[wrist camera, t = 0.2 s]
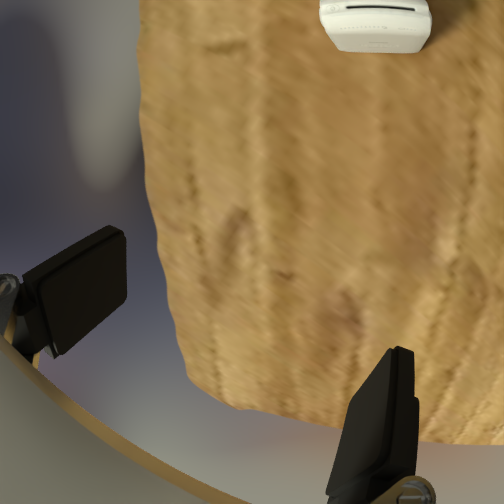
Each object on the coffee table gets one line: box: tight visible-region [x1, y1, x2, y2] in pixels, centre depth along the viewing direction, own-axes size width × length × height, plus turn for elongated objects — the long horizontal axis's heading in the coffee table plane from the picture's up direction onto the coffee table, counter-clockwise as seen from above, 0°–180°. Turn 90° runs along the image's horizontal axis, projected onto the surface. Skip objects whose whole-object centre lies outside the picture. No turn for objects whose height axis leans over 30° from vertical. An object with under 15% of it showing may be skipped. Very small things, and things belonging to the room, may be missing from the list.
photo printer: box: [319, 0, 432, 53], centre depth 23 cm, size 10×4×12 cm, turn 95°
